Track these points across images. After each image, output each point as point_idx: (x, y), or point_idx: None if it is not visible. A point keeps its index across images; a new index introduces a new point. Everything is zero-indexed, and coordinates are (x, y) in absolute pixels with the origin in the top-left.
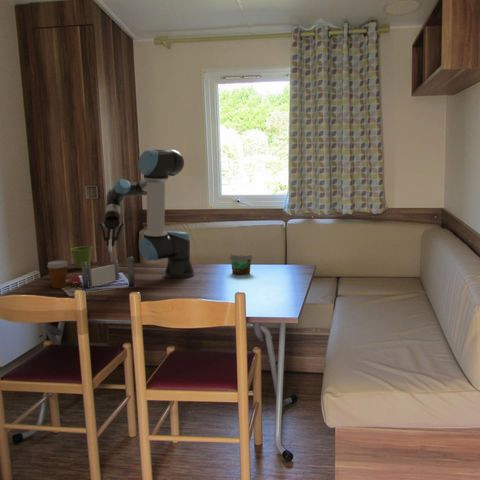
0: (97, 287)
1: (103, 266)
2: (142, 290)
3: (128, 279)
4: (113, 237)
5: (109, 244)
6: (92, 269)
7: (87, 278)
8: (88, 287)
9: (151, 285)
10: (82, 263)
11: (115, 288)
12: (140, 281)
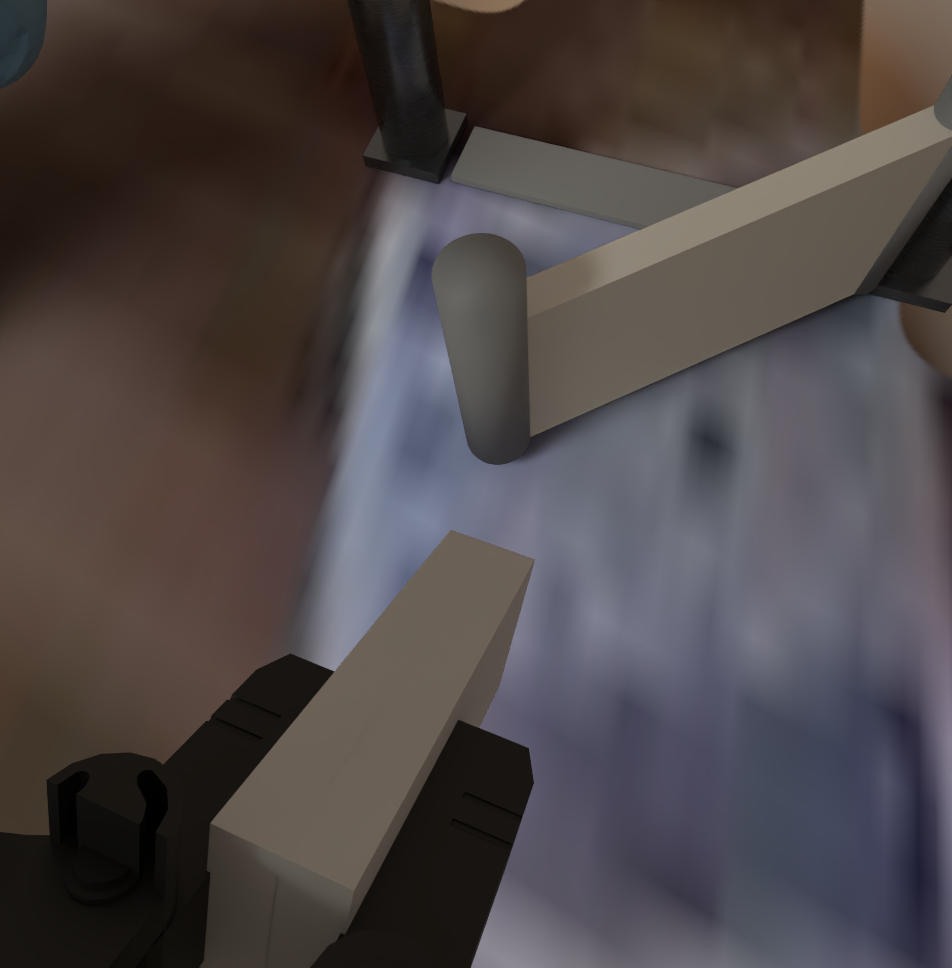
0: None
1: (712, 236)
2: None
3: (438, 65)
4: (83, 786)
5: (439, 660)
6: (909, 122)
7: None
8: None
9: (227, 126)
10: None
11: (585, 156)
12: (253, 311)
